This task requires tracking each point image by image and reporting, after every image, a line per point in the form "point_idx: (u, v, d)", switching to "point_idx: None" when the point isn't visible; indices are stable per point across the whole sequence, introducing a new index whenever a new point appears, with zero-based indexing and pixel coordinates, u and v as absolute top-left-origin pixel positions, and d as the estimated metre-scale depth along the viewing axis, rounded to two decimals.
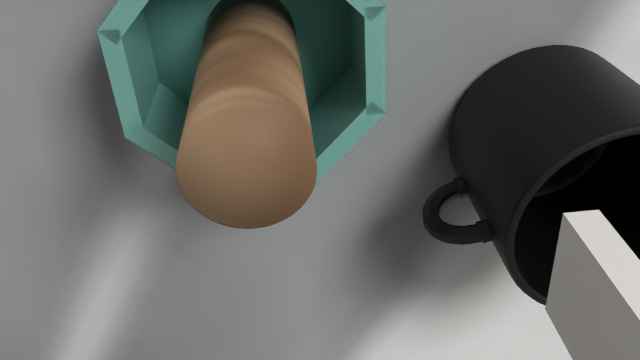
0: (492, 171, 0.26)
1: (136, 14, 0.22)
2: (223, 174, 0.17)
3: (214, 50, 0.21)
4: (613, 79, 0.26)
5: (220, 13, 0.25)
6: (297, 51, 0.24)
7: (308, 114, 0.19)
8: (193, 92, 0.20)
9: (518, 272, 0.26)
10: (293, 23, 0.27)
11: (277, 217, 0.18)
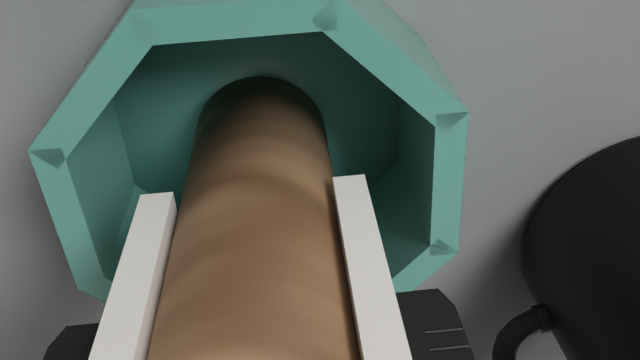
0: (605, 328, 0.18)
1: (86, 127, 0.14)
2: None
3: (201, 215, 0.13)
4: None
5: (215, 121, 0.16)
6: None
7: None
8: (160, 312, 0.11)
9: None
10: (323, 123, 0.19)
11: None
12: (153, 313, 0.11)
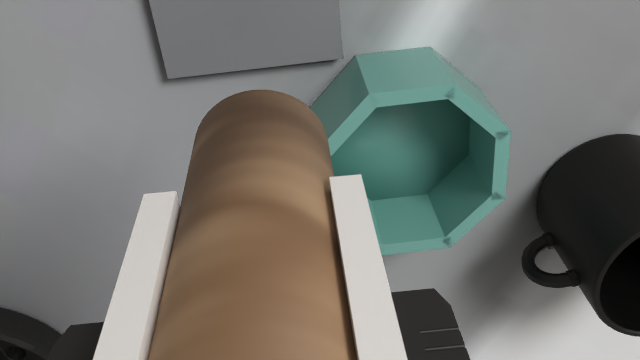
0: (580, 236, 0.36)
1: (341, 142, 0.32)
2: None
3: (197, 244, 0.12)
4: None
5: (213, 138, 0.15)
6: None
7: None
8: (152, 353, 0.10)
9: (601, 309, 0.35)
10: (326, 138, 0.18)
11: None
12: (157, 312, 0.11)
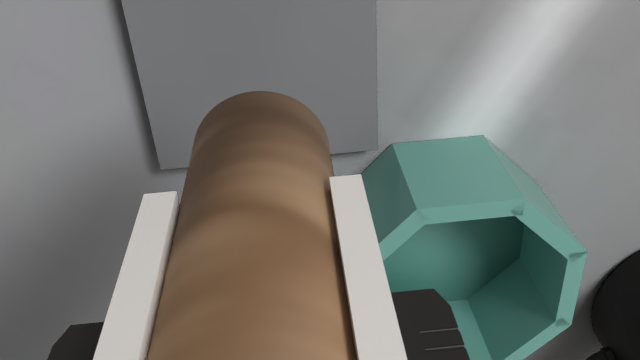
0: None
1: None
2: None
3: (195, 248, 0.12)
4: None
5: (212, 140, 0.15)
6: None
7: None
8: (149, 359, 0.10)
9: None
10: (327, 140, 0.18)
11: None
12: None
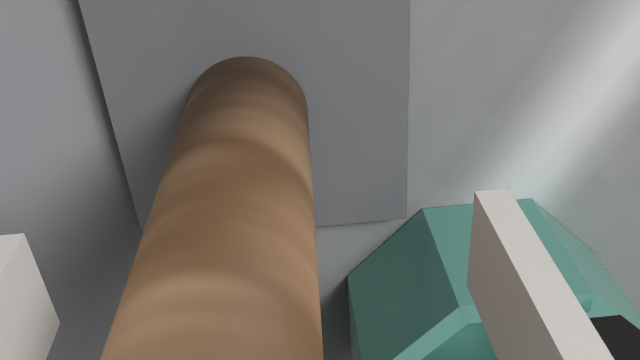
0: None
1: None
2: None
3: (179, 171, 0.14)
4: None
5: (202, 94, 0.18)
6: (307, 156, 0.17)
7: (317, 292, 0.12)
8: (138, 250, 0.12)
9: None
10: (305, 101, 0.20)
11: None
12: None
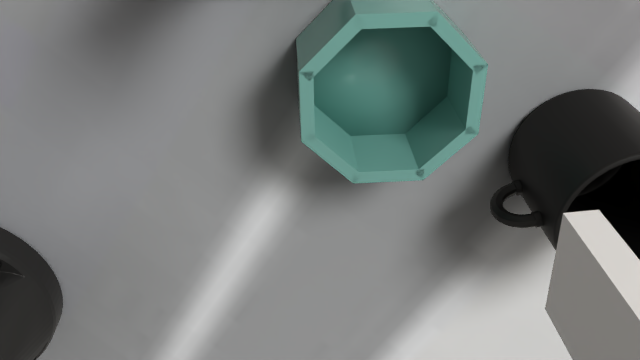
0: (547, 177, 0.38)
1: (326, 62, 0.34)
2: None
3: None
4: (633, 118, 0.38)
5: None
6: None
7: None
8: None
9: None
10: None
11: None
12: None
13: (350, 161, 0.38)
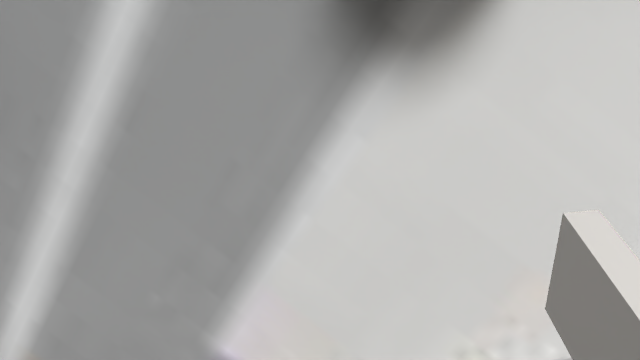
0: None
1: None
2: None
3: None
4: None
5: None
6: None
7: None
8: None
9: None
10: None
11: None
12: None
13: None
